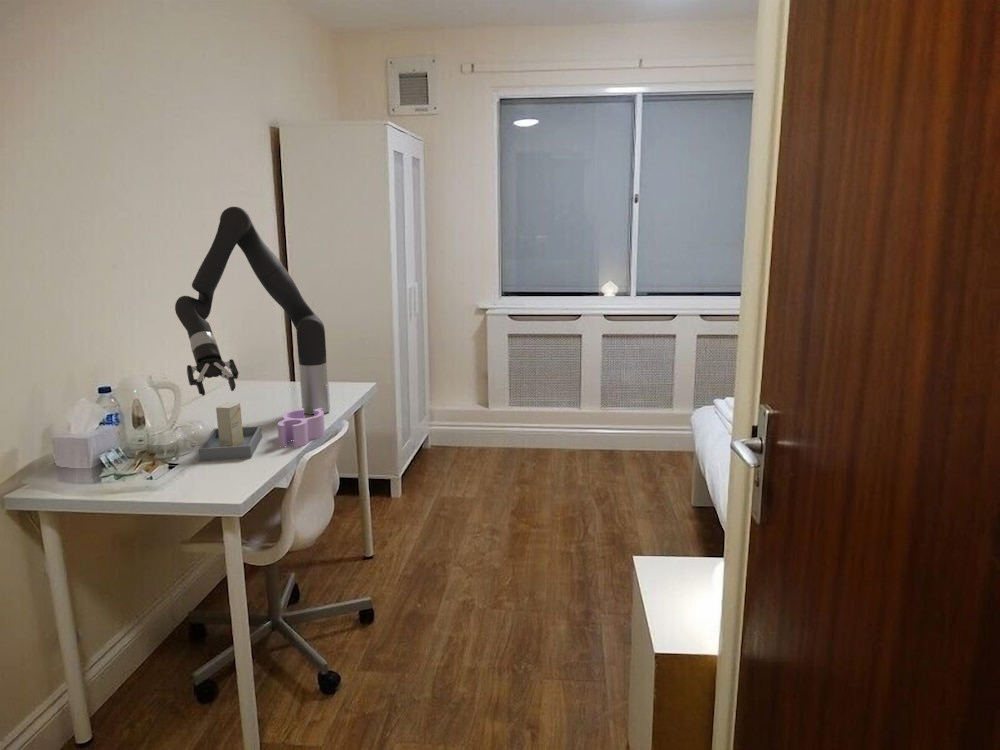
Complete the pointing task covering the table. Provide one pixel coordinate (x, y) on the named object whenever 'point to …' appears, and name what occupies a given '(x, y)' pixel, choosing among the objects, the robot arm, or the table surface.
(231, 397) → the table surface
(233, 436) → the skincare box
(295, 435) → the clip
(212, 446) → the tray
